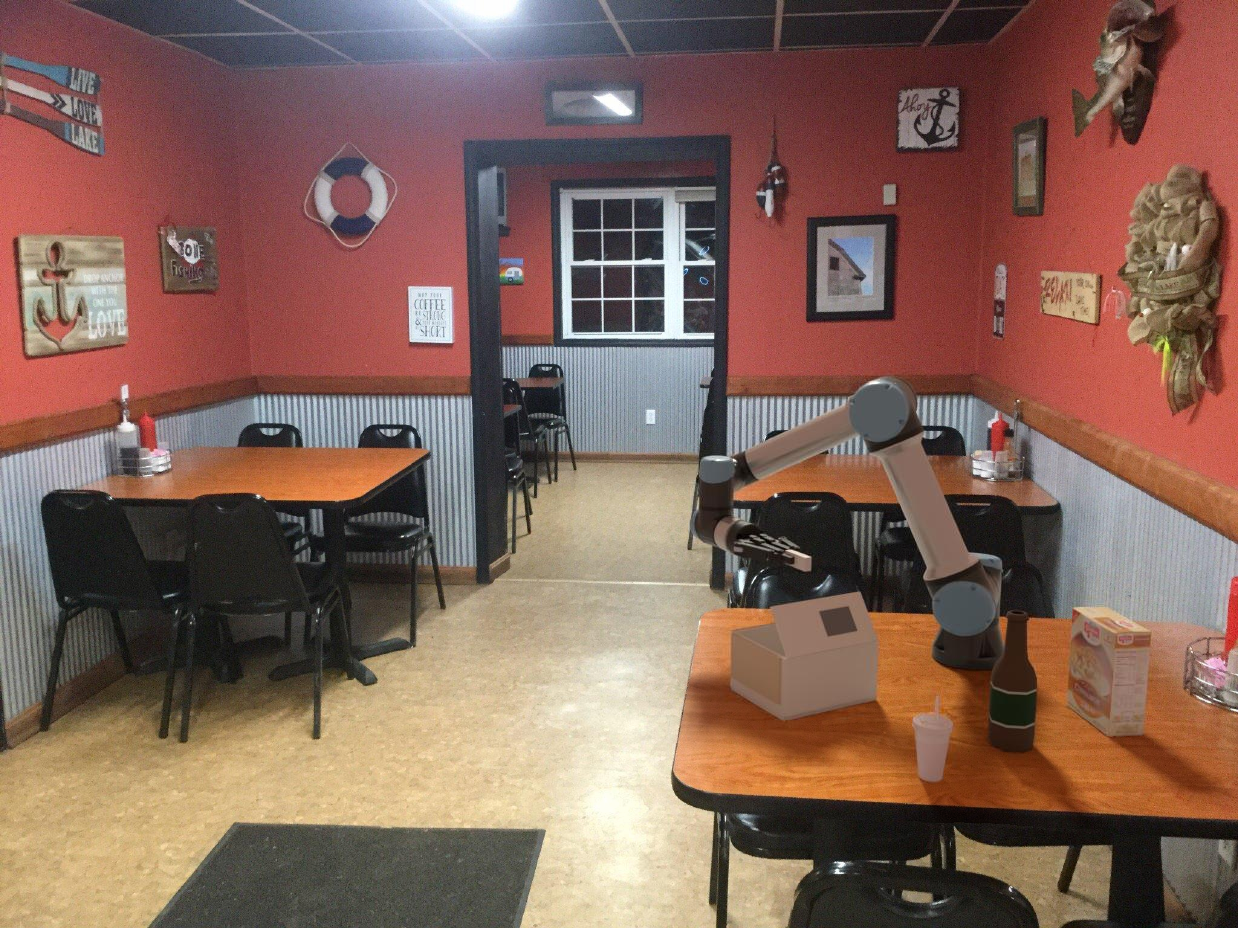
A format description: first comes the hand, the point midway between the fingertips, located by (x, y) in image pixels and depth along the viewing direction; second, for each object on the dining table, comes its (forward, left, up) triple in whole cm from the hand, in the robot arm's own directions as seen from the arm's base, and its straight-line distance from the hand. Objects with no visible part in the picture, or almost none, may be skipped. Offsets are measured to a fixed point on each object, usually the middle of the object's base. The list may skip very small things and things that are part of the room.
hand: (808, 564), depth 205 cm
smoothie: (-31, +21, -27) cm, 46 cm away
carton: (+1, -1, -27) cm, 27 cm away
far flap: (-4, +2, -11) cm, 12 cm away
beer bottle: (-39, +1, -27) cm, 47 cm away
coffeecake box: (-51, -19, -27) cm, 61 cm away
